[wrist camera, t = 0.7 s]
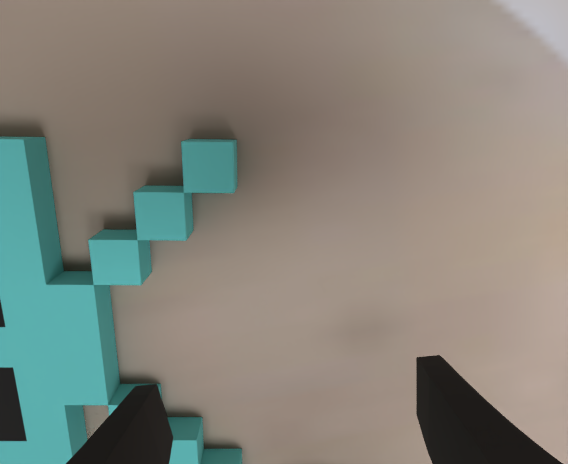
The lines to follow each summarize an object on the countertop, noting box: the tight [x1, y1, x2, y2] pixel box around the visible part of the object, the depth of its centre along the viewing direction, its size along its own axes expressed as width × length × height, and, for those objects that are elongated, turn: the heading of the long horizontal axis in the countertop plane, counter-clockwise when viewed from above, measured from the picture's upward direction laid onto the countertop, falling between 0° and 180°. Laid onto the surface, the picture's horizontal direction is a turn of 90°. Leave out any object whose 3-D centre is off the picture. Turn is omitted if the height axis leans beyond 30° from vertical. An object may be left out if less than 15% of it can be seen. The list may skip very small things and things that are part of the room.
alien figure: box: [0, 137, 242, 464], centre depth 22 cm, size 20×2×20 cm
